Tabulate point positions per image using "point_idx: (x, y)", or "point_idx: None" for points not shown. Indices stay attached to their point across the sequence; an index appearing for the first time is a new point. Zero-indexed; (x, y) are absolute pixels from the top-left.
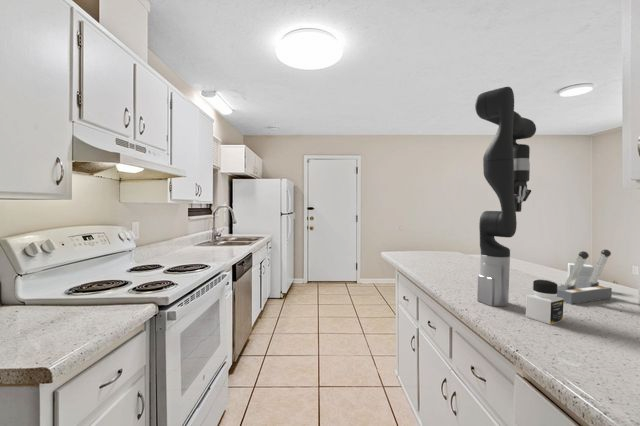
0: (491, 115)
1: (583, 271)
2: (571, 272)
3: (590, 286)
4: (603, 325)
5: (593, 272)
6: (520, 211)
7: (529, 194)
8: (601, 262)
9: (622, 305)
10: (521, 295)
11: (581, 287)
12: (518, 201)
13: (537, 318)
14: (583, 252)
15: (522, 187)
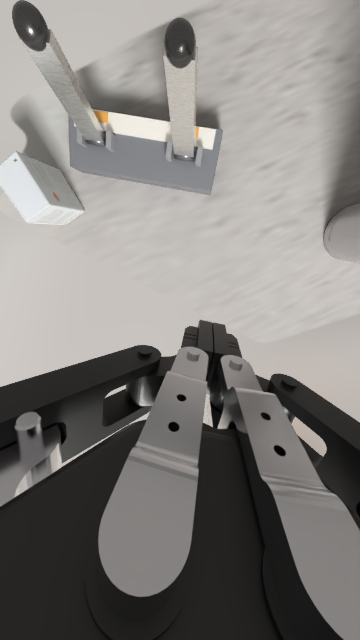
0: None
1: (42, 177)
2: (194, 123)
3: (113, 135)
4: (344, 9)
5: (89, 114)
6: (202, 321)
7: (29, 378)
8: (69, 65)
9: (124, 71)
10: (240, 233)
11: (135, 148)
12: (243, 363)
13: None
14: (188, 29)
15: (184, 559)
